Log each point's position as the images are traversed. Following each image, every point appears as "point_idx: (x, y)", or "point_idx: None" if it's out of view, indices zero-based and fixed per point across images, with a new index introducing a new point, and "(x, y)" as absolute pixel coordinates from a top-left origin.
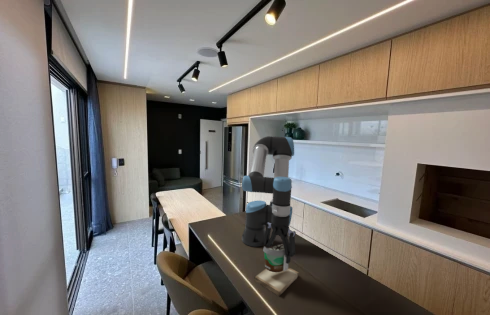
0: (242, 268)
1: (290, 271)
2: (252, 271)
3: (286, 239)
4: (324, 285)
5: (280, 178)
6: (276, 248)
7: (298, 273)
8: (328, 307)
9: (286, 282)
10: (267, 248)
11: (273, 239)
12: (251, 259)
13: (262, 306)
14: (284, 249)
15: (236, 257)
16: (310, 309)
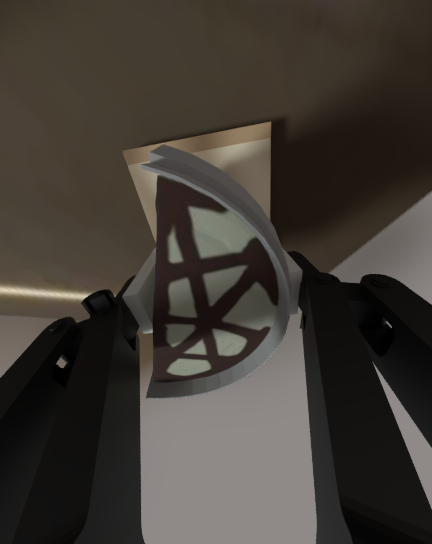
0: (106, 285)
1: (235, 158)
2: (134, 270)
3: (405, 522)
4: (406, 52)
5: None
6: (202, 335)
7: (269, 123)
8: (417, 190)
9: None
10: (181, 396)
11: (125, 410)
12: (55, 226)
13: None
14: (285, 332)
15: (27, 267)
16: (359, 245)
